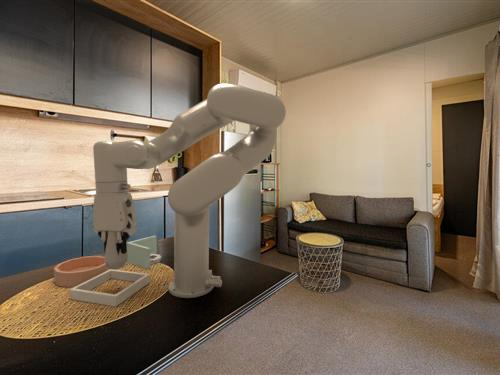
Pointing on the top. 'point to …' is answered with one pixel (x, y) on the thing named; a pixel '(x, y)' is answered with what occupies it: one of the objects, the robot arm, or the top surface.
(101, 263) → the bowl
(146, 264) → the right angle wall
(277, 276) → the top surface
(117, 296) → the rectangular frame
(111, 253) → the salt shaker
